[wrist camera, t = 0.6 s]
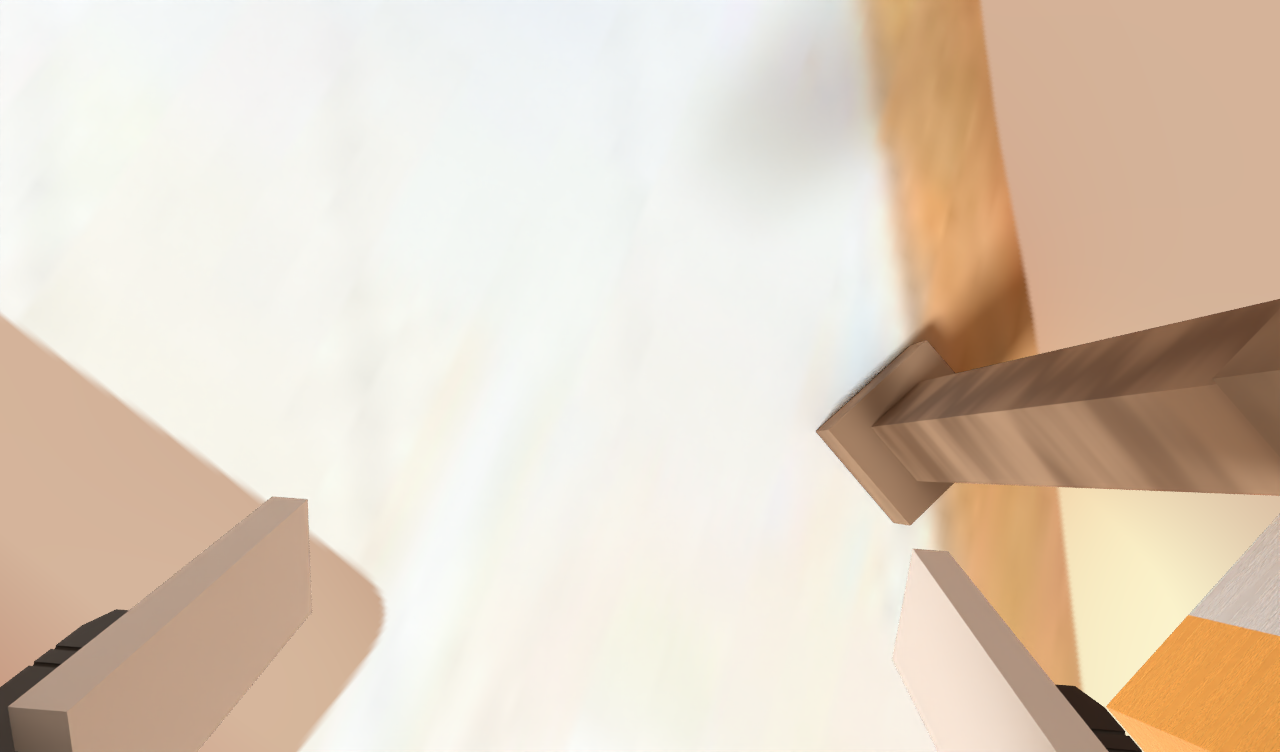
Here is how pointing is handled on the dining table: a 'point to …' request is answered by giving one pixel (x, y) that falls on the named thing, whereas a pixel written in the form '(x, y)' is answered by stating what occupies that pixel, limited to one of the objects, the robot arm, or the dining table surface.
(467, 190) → the dining table surface
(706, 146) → the dining table surface
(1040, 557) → the dining table surface
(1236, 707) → the grey block
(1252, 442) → the walnut stand
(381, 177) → the dining table surface
